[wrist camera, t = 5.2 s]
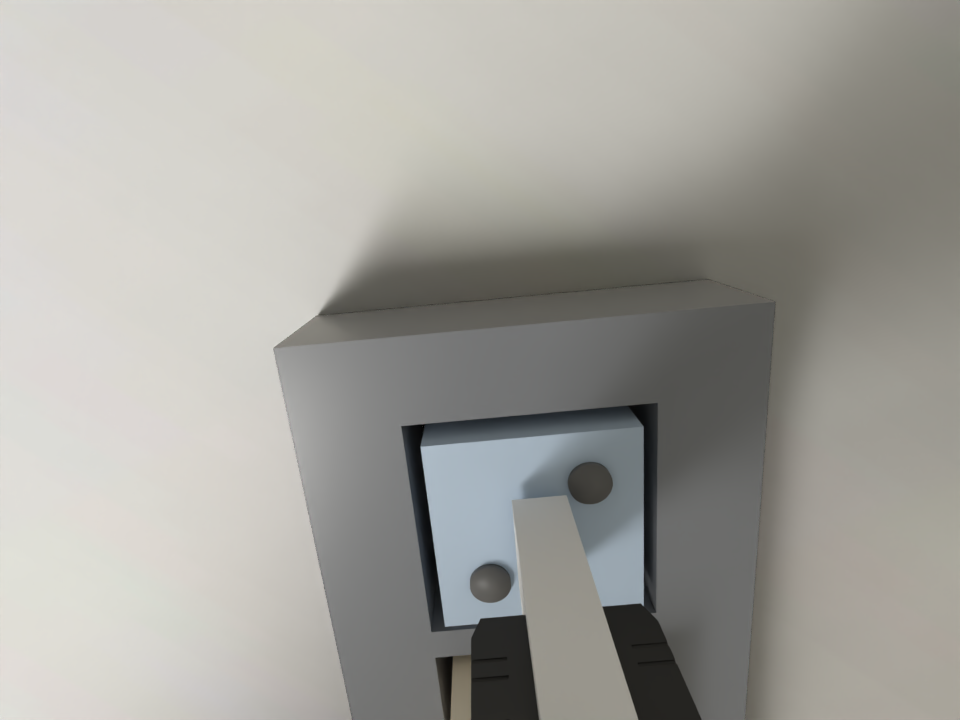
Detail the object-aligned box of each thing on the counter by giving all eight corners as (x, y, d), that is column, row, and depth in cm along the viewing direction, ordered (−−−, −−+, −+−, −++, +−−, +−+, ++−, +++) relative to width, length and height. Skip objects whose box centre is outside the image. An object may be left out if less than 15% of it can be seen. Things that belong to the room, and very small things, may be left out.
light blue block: (450, 544, 20) (444, 631, 16) (431, 394, 18) (419, 450, 14) (610, 529, 20) (646, 614, 16) (606, 378, 18) (646, 429, 14)
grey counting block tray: (420, 878, 26) (411, 997, 22) (316, 315, 18) (273, 348, 14) (688, 856, 26) (726, 972, 22) (708, 279, 17) (775, 301, 14)
